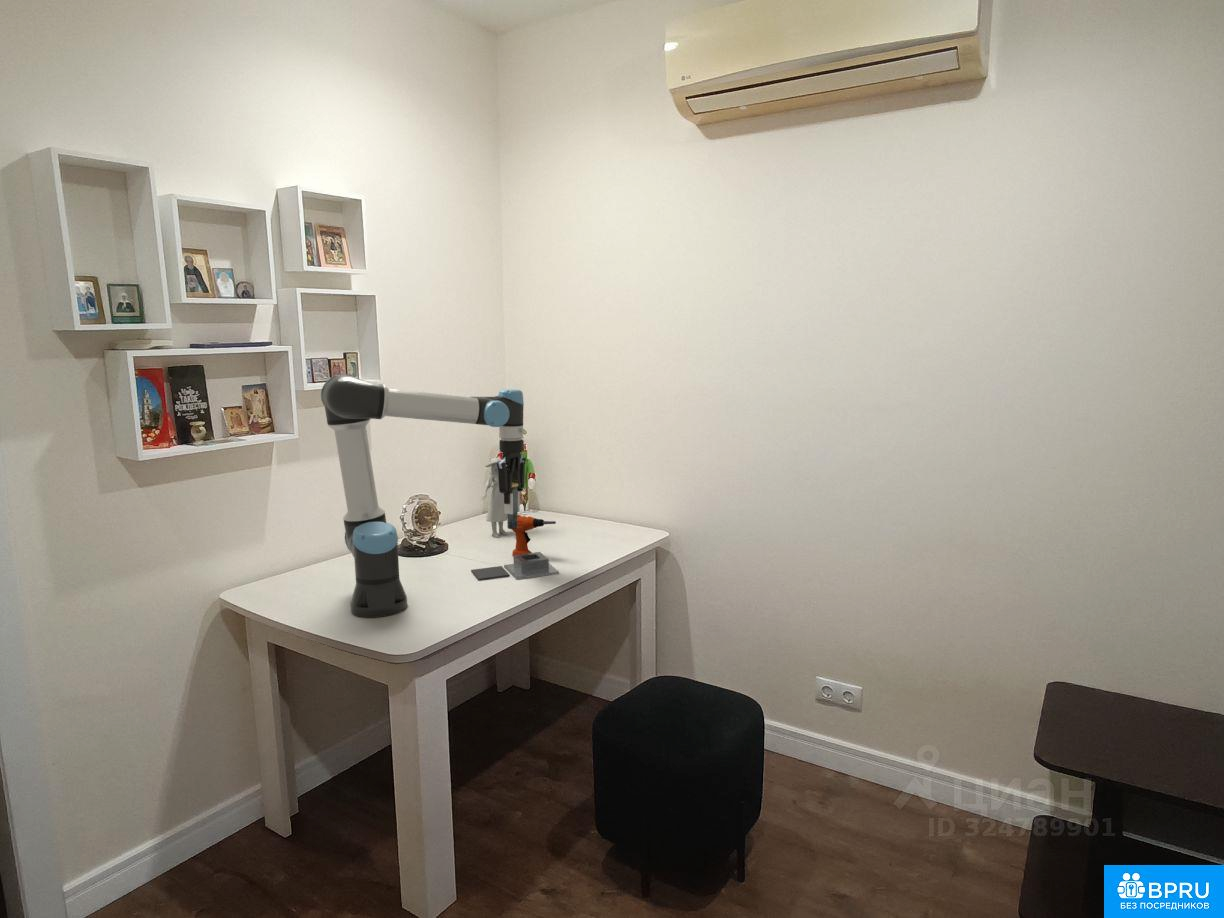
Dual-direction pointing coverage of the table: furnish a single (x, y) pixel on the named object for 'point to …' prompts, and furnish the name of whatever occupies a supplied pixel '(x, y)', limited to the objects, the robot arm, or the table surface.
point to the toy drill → (522, 536)
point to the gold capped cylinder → (513, 518)
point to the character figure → (495, 500)
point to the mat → (490, 573)
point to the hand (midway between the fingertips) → (512, 512)
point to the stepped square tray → (530, 566)
